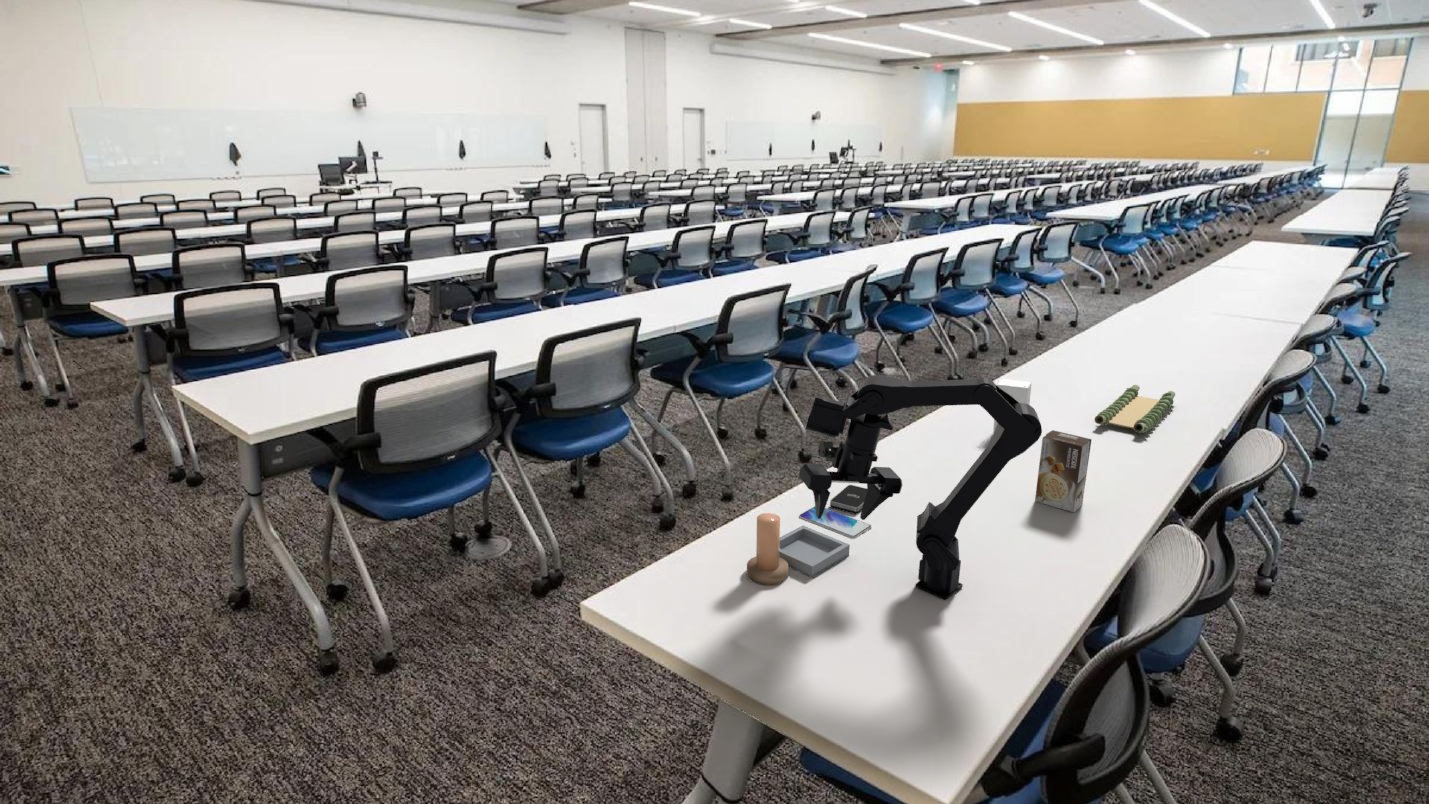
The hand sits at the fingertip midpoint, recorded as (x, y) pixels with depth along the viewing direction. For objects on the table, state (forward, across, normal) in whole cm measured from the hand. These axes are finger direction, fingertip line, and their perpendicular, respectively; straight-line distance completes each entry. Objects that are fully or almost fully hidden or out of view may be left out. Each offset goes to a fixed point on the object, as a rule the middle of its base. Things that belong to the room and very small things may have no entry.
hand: (840, 518), depth 149 cm
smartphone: (+13, -10, -19) cm, 26 cm away
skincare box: (+5, -79, -56) cm, 97 cm away
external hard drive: (+12, -18, -27) cm, 35 cm away
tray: (+13, +1, -7) cm, 15 cm away
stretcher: (-2, -124, -59) cm, 138 cm away
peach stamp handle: (+12, +11, -2) cm, 17 cm away
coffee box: (+3, -63, -15) cm, 65 cm away
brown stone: (+14, +11, -2) cm, 18 cm away
